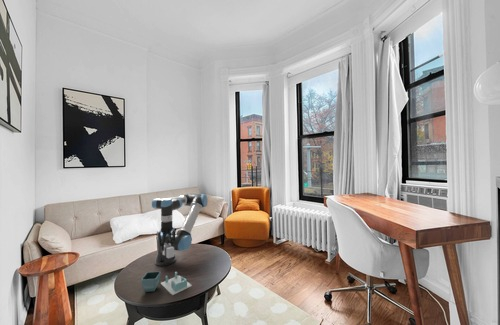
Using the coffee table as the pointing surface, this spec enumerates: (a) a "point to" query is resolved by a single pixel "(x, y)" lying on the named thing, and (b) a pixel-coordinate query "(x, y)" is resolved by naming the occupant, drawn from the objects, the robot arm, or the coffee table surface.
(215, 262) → the coffee table surface
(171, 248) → the bar
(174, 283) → the board
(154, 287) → the flower pot
